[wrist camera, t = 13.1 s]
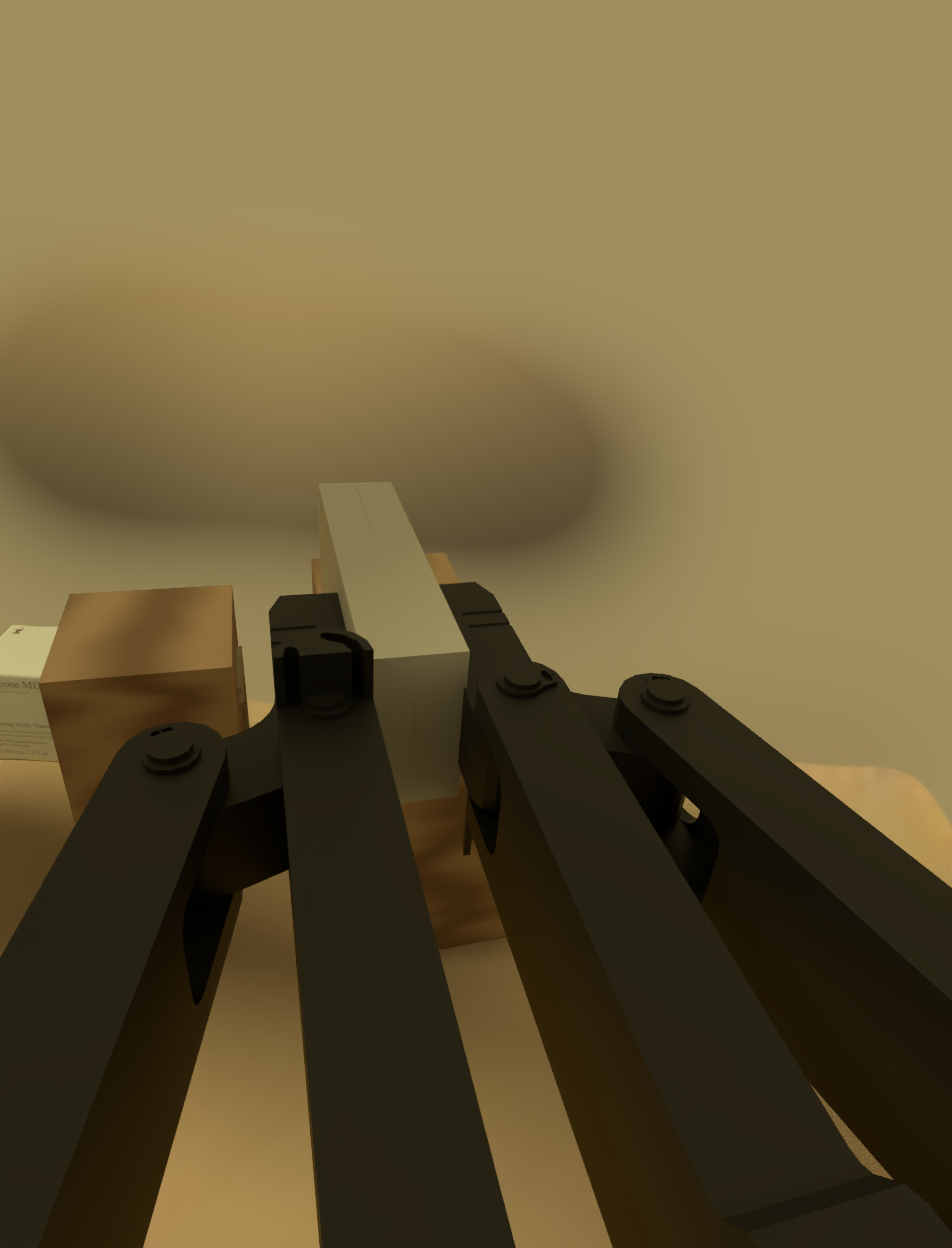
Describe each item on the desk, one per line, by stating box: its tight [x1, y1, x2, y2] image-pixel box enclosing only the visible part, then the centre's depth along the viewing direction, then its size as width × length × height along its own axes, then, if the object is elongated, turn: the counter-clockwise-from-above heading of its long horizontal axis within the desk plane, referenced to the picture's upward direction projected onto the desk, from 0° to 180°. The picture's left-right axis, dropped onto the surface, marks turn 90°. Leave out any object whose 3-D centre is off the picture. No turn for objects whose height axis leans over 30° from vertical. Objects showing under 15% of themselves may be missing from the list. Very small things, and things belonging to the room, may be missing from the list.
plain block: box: [401, 771, 506, 949], centre depth 43 cm, size 9×9×14 cm
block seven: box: [38, 585, 250, 825], centre depth 46 cm, size 9×9×14 cm
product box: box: [0, 625, 59, 762], centre depth 54 cm, size 6×6×7 cm
